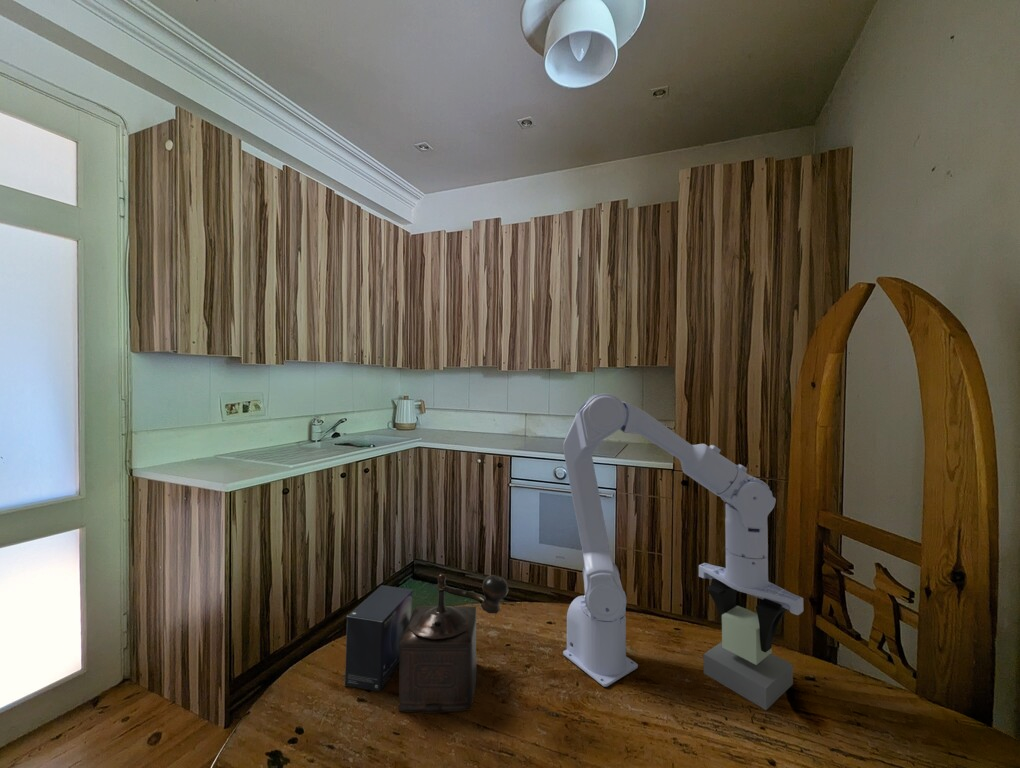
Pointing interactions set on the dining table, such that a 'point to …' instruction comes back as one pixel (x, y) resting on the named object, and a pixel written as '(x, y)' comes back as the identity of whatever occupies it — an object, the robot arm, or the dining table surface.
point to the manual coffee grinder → (443, 651)
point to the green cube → (742, 634)
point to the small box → (376, 637)
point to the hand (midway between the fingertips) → (747, 640)
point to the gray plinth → (749, 675)
